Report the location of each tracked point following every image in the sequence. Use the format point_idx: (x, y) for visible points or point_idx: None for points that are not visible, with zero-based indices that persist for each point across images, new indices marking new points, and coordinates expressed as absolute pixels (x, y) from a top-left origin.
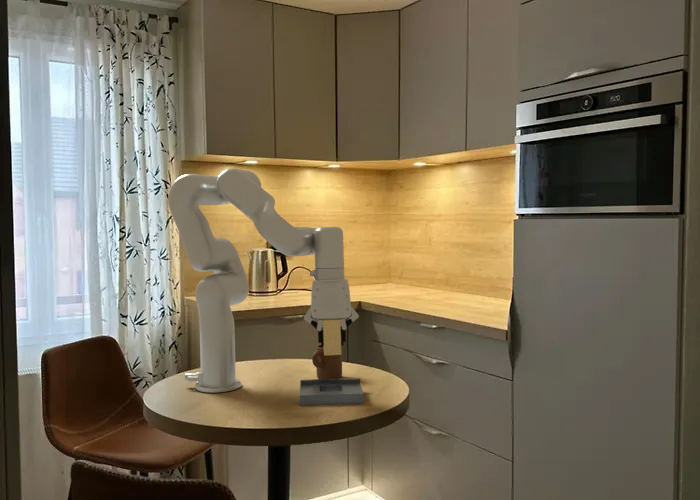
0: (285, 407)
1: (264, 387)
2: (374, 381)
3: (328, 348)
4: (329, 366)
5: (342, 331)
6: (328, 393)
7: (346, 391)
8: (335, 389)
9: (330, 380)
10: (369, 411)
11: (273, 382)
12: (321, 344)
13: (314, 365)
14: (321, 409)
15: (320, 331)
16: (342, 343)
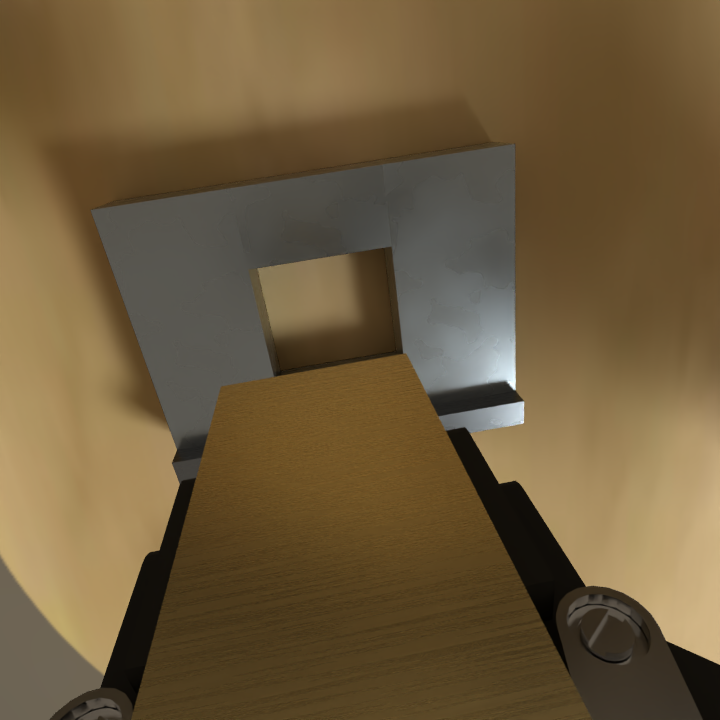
0: (573, 96)
1: (664, 456)
2: None
3: (368, 397)
4: None
5: (139, 646)
6: (331, 205)
7: (221, 260)
8: None
9: None
10: (24, 10)
11: (621, 530)
12: (468, 438)
13: None
14: (355, 55)
15: (552, 605)
16: (190, 490)
